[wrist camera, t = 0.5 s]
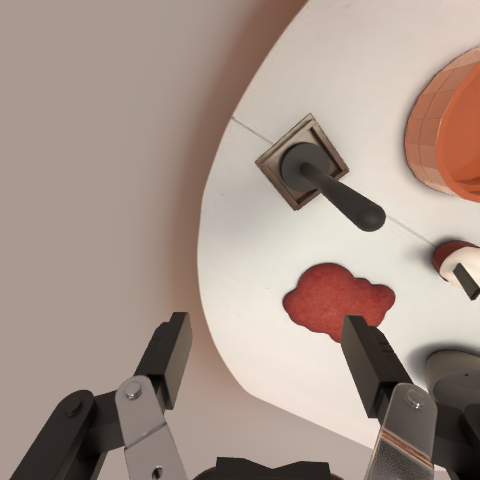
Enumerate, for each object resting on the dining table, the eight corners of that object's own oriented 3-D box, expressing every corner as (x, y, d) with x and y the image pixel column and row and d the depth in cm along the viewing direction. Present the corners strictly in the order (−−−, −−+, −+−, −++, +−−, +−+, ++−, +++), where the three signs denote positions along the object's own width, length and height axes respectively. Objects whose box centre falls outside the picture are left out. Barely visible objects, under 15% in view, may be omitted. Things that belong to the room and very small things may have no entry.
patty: (403, 293, 42) (410, 301, 40) (353, 346, 47) (357, 355, 45) (315, 251, 39) (318, 257, 38) (272, 312, 45) (273, 320, 43)
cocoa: (482, 252, 38) (574, 302, 27) (447, 281, 40) (520, 337, 29) (439, 220, 36) (519, 259, 25) (406, 251, 39) (466, 300, 28)
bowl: (435, 326, 44) (462, 355, 39) (530, 366, 47) (568, 398, 41) (392, 368, 49) (410, 400, 43) (480, 402, 52) (508, 435, 46)
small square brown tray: (254, 161, 34) (255, 164, 32) (309, 113, 31) (314, 112, 29) (293, 209, 37) (296, 215, 34) (347, 168, 34) (355, 171, 31)
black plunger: (270, 163, 33) (296, 216, 13) (307, 131, 32) (402, 137, 12) (296, 196, 35) (355, 287, 15) (333, 168, 33) (455, 228, 13)
